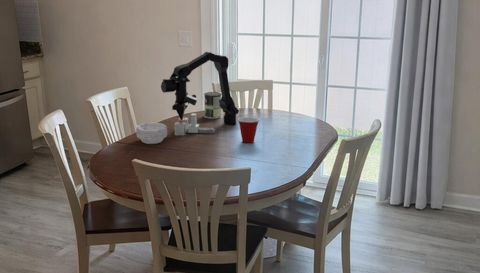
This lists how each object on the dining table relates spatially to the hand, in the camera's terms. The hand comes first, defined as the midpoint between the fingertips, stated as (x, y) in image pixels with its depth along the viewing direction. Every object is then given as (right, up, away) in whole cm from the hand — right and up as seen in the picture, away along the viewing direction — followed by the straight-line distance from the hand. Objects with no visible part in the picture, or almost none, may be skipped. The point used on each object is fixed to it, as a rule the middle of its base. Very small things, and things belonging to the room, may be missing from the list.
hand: (181, 119), depth 262 cm
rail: (+10, -7, +1) cm, 12 cm away
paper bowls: (-13, -12, -15) cm, 23 cm away
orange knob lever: (0, -5, +1) cm, 5 cm away
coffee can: (+15, +3, +35) cm, 38 cm away
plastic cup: (+35, -12, -14) cm, 40 cm away
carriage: (+6, -7, +2) cm, 9 cm away
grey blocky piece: (0, -7, +2) cm, 7 cm away
